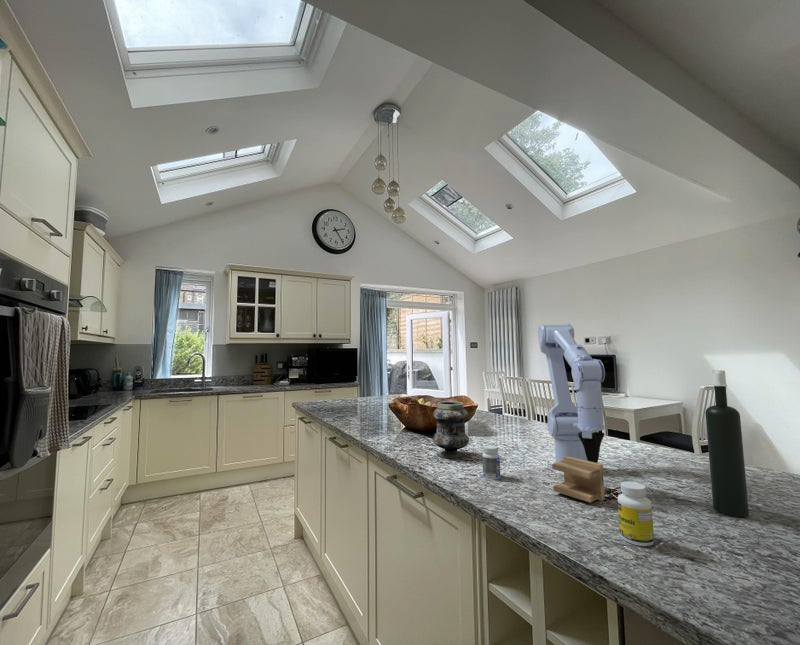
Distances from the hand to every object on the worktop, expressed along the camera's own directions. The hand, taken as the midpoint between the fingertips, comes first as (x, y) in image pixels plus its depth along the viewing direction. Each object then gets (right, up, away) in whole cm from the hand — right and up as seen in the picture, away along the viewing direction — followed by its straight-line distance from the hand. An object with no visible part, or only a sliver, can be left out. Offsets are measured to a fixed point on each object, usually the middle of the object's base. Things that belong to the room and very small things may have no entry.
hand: (592, 462), depth 94 cm
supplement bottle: (-5, -5, -25) cm, 26 cm away
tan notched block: (-9, -2, -7) cm, 11 cm away
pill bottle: (-23, -8, +10) cm, 26 cm away
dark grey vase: (-32, -10, +31) cm, 45 cm away
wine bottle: (+22, -5, -14) cm, 27 cm away
